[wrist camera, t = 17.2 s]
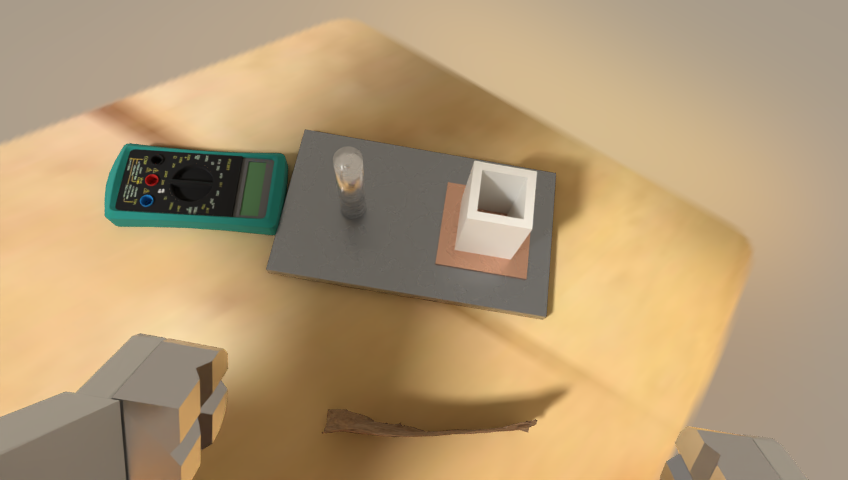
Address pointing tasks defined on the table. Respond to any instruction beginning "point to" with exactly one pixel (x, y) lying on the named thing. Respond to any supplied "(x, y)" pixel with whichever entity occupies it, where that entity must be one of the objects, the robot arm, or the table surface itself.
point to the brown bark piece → (397, 426)
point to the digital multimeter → (196, 189)
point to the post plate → (403, 227)
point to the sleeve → (496, 210)
